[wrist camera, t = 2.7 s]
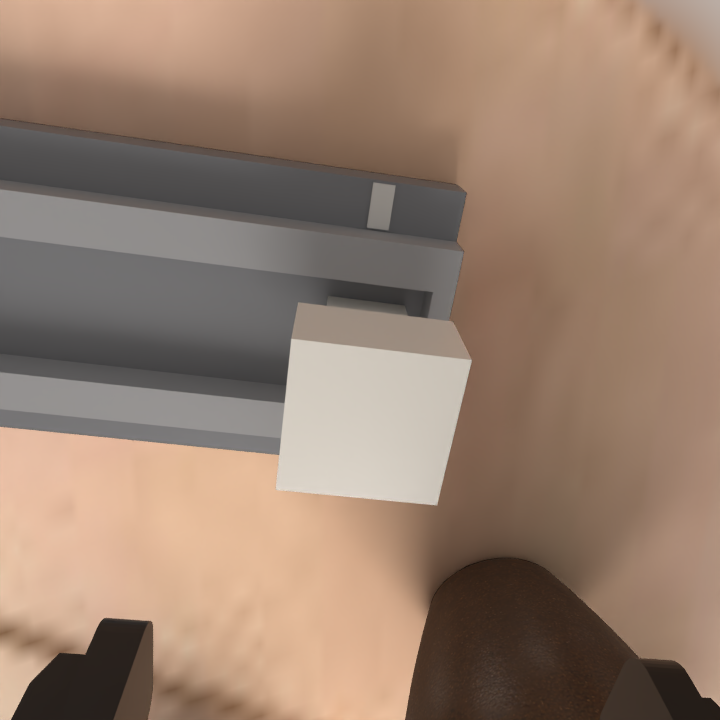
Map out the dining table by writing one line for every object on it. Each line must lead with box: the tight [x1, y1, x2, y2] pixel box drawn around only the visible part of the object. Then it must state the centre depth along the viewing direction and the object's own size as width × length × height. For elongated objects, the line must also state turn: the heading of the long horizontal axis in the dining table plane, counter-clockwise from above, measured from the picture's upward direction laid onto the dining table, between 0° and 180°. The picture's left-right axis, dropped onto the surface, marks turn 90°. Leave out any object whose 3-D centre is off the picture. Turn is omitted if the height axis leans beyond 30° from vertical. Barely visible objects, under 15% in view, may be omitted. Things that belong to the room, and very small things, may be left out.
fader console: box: [0, 119, 467, 455], centre depth 23 cm, size 24×12×4 cm, turn 82°
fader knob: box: [276, 296, 472, 505], centre depth 21 cm, size 5×5×7 cm
